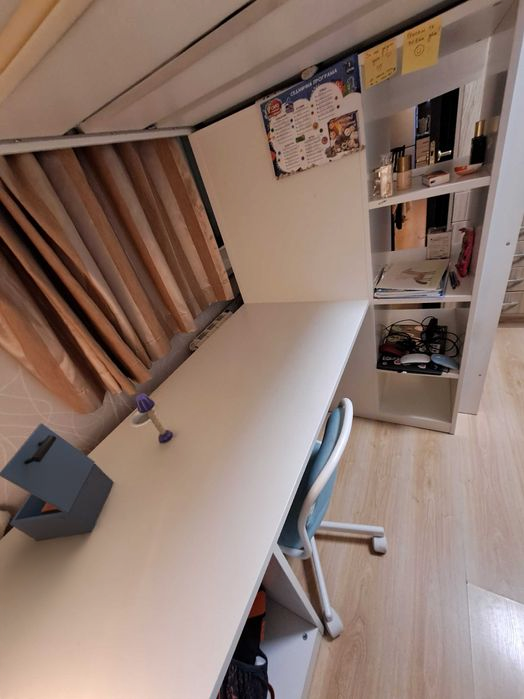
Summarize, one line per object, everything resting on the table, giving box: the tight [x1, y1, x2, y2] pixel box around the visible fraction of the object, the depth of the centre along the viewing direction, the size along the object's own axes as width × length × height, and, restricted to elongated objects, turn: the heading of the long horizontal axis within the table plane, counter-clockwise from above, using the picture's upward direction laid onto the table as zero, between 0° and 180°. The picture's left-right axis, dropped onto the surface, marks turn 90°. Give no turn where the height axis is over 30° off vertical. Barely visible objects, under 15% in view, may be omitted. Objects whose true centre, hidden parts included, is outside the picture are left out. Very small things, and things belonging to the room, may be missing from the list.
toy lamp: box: [134, 393, 173, 444], centre depth 83 cm, size 5×5×17 cm
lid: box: [0, 422, 96, 513], centre depth 64 cm, size 16×13×5 cm
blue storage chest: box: [9, 463, 115, 542], centre depth 72 cm, size 16×13×9 cm
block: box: [41, 503, 63, 515], centre depth 73 cm, size 4×4×4 cm
